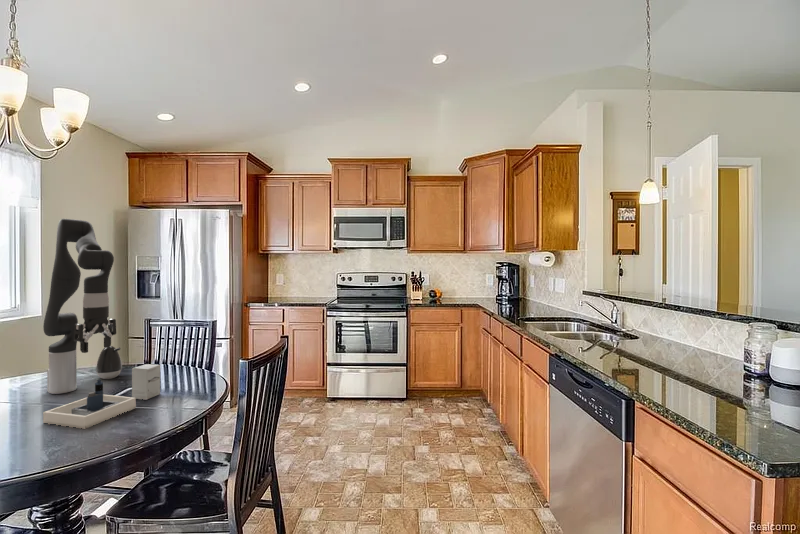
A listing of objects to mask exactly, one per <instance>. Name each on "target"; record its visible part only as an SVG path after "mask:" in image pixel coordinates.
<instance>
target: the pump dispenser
mask: <svg viewBox="0 0 800 534" xmlns="http://www.w3.org/2000/svg"><path fill="white" fill-rule="evenodd" d="M119 351H121V347H117V348H116V347H115V346H114V345H111V346H110V347H109V348H105V347H103V349H101V352H100V354H99V356H98V358H97V362H96V366H95V371H96V373H97V376H98V378H101V379H103V380H111V379H115V378H116V377H118V376H119V375H120V373H121V372H122V369H123V365H122V364H123V363H122V359H121V356H120V354H119Z"/></svg>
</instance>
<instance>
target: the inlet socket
mask: <svg viewBox="0 0 800 534" xmlns="http://www.w3.org/2000/svg"><path fill="white" fill-rule="evenodd" d="M118 403H120V402H113V401H104V400H103V408H100V409H98V410H95V411H94V410H87V404H85V405H82V406H79V407H76V408H73V409H72V414H75V415H83V416H86V415H89V414H91V413H94V412H97V411H99V410H102V409H105V408H107V407H110V406H113V405H115V404H118Z"/></svg>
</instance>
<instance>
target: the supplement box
mask: <svg viewBox="0 0 800 534" xmlns="http://www.w3.org/2000/svg"><path fill="white" fill-rule="evenodd" d="M159 395H161V364H149V363H145V364H142V365H139V366H136V367H132V369H131V397H133V398H136V400H142V399H143V400H146V401H147V400H149V399H151V398H154V397H157V396H159Z"/></svg>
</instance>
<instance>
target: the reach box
mask: <svg viewBox="0 0 800 534" xmlns="http://www.w3.org/2000/svg"><path fill="white" fill-rule="evenodd" d="M103 400H104V401H113V402H120V403H118V404H115V405H113V406H110V407H107V408H105V409H102V410H99V411H97V412H94V413H91V414H89V415H86V416H83V415H75V414H72V409H73V408H76V407H79V406H82V405H85V404H87V397H84V398H81V399H78V400H75V401H72V402H70V403H66V404H64V405H61V406H60V405H59V406H57V407H54V408H51V409H48V410H46V411H43V413H42V415H43V416H42V419H43V421H42V422H43V423H48V424H47V425H50V424H56V425H55V426H58V425H61V426H60V427H66V426H69V427H68V428H73V427H76V428H75V429H81V428H82V429H83V430H86V429H88V428H91V427H93V425H94V426H96V425H98V424H100V423H104V422H105V420H106V421H107V420H110V418H111V419H113V418H115V417H117V415H118V416H120V415H123V414H125V413H127V411H128V412H130V411H132V410H134V409H136V408H137V402H136V401H137V399H136V398H133V397H132V396H123V395H114V394H113V395H112V394H104V393H103ZM124 412H125V413H124ZM122 413H123V414H122ZM119 414H120V415H119ZM112 417H113V418H112Z"/></svg>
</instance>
